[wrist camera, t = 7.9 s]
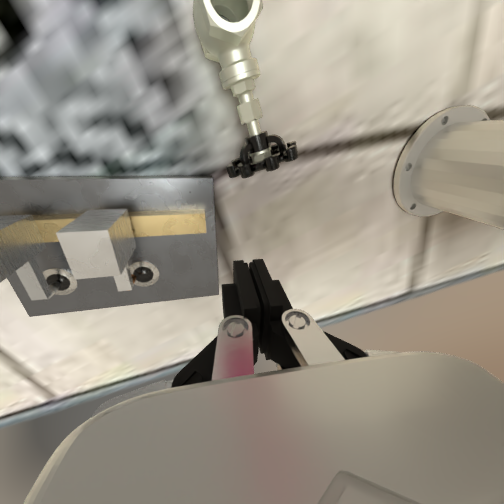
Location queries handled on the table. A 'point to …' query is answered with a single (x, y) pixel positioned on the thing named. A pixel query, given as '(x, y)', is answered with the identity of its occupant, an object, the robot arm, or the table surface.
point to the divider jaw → (100, 246)
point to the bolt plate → (121, 194)
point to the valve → (240, 78)
